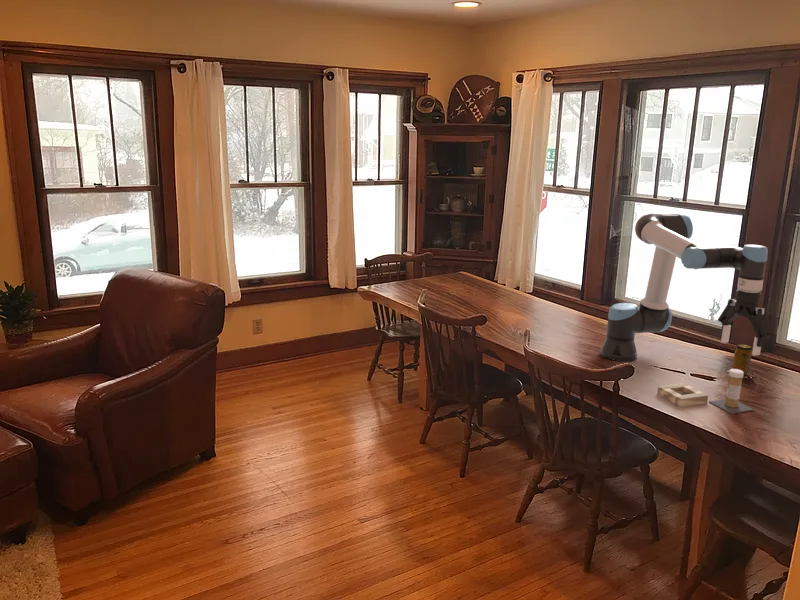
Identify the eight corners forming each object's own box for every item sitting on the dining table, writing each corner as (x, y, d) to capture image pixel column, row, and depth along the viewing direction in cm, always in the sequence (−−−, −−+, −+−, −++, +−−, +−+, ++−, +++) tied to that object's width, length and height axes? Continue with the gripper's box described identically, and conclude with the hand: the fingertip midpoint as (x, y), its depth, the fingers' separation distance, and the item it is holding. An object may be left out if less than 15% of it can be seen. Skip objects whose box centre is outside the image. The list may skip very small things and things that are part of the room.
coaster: (709, 402, 227) (709, 401, 227) (731, 399, 230) (731, 398, 229) (730, 413, 217) (731, 412, 217) (753, 410, 220) (753, 409, 220)
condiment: (741, 370, 259) (745, 342, 256) (756, 377, 251) (761, 349, 248) (726, 371, 257) (730, 343, 254) (740, 378, 249) (745, 350, 246)
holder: (657, 393, 234) (658, 386, 233) (683, 390, 237) (684, 383, 237) (680, 406, 223) (681, 399, 222) (707, 402, 226) (708, 395, 226)
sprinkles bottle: (727, 401, 226) (732, 367, 223) (740, 405, 223) (745, 370, 220) (722, 405, 223) (727, 370, 220) (735, 409, 220) (741, 374, 217)
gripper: (712, 282, 223) (704, 338, 228) (771, 300, 200) (761, 361, 205) (729, 281, 225) (720, 336, 230) (789, 298, 202) (778, 359, 208)
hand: (739, 348), depth 218 cm, fingers open, 13 cm apart
